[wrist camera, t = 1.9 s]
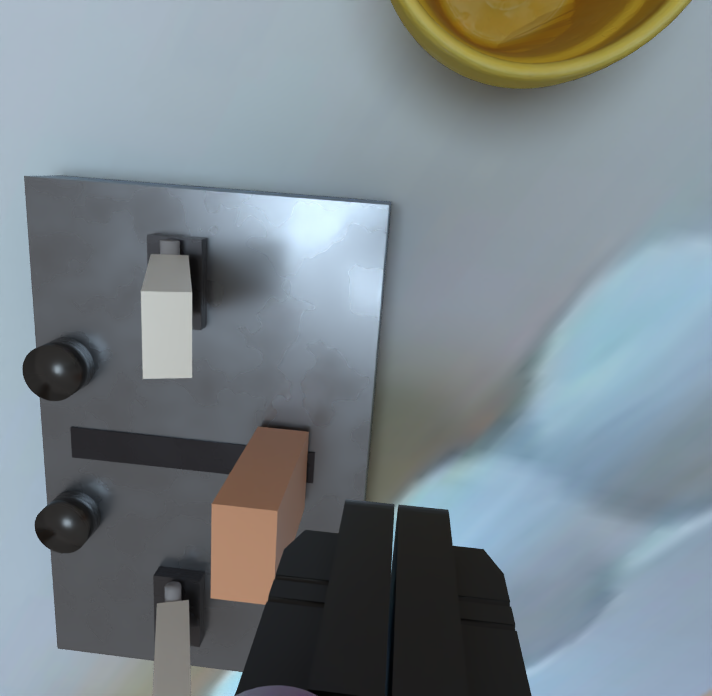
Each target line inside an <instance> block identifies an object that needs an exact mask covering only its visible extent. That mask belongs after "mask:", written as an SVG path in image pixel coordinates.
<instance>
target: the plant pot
mask: <svg viewBox="0 0 712 696" xmlns="http://www.w3.org/2000/svg"><path fill="white" fill-rule="evenodd" d="M691 1H692V0H391V3H392V5H393V7H394V9H395V11H396V12H397V14H398V16H399V18H400V19H401V21H402V23H403V24H404V26H405V27H406V28H407V30H408V31H409V32H410V34H411V35H412V36H413V37H414V39H415V40H416V41H417V42H418V43H419V44H420V45H421V46H422V47H423V48H424V49H425V50H426V51H427V52H428V53H429V54H430V55H431V56H432V57H433V58H435V59H436V60H437V61H439V62H440V63H441V64H443V65H444V66H446V67H447V68H449V69H451V70H452V71H454V72H456V73H458V74H460V75H462V76H464V77H466V78H469V79H471V80H474V81H477V82H480V83H484V84H488V85H492V86H497V87H504V88H518V89H529V88H540V87H547V86H552V85H557V84H561V83H565V82H568V81H572V80H576V79H578V78H581V77H584V76H586V75H589V74H591V73H594V72H596V71H598V70H601V69H603V68H605V67H607V66H609V65H611V64H613V63H615V62H617V61H619V60H621V59H623V58H624V57H626V56H628V55H629V54H631V53H633V52H634V51H636V50H637V49H639V48H640V47H641V46H643V45H644V44H646V43H647V42H649V41H650V40H651V39H653V38H654V37H655V36H656V35H657V34H659V33H660V32H661V31H662V30H663V29H664V28H666V27H667V26H668V25H669V24H670V23H671V22H672V21H673V20H674V19H675V18H676V17H677V16H678V15H679V14H680V13H681V12H682V11H683V10H684V9H685V7H686V6H687V5H688V4H689V3H690V2H691Z"/></svg>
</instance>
